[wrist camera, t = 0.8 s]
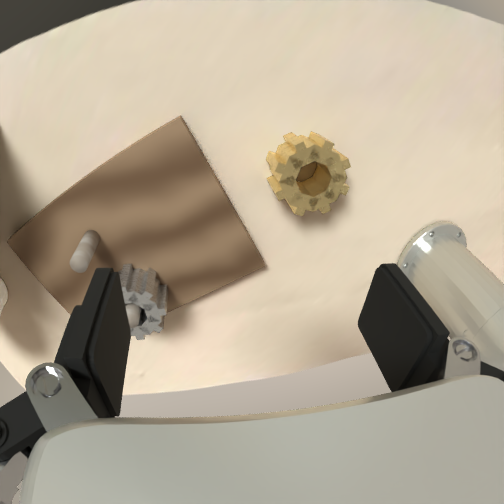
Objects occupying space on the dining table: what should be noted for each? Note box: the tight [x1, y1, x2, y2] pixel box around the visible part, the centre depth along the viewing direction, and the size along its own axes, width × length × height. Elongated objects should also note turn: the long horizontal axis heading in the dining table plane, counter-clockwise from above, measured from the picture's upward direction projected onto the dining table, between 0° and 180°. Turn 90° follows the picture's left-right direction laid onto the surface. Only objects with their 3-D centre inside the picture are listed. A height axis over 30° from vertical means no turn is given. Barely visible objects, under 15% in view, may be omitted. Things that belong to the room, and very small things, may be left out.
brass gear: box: [266, 131, 351, 216], centre depth 30 cm, size 7×7×4 cm
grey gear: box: [118, 264, 168, 340], centre depth 33 cm, size 7×7×4 cm
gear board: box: [7, 116, 265, 328], centre depth 31 cm, size 18×24×6 cm
